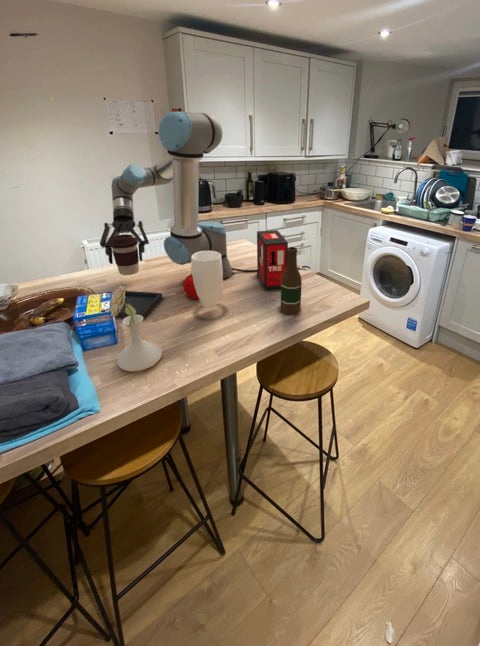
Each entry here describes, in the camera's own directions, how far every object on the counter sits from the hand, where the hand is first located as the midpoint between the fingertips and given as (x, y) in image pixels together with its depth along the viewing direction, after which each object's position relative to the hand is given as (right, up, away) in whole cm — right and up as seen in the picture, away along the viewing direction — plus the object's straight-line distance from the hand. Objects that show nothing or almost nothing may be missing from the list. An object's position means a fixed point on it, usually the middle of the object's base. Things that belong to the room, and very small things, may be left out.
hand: (126, 261), depth 131 cm
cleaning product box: (+56, -8, +13) cm, 58 cm away
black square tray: (+8, -17, -11) cm, 22 cm away
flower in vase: (+24, -30, -38) cm, 54 cm away
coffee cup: (-1, -4, +5) cm, 7 cm away
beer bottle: (+64, -18, -8) cm, 67 cm away
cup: (+36, -19, -12) cm, 42 cm away
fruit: (+28, -14, -1) cm, 31 cm away
